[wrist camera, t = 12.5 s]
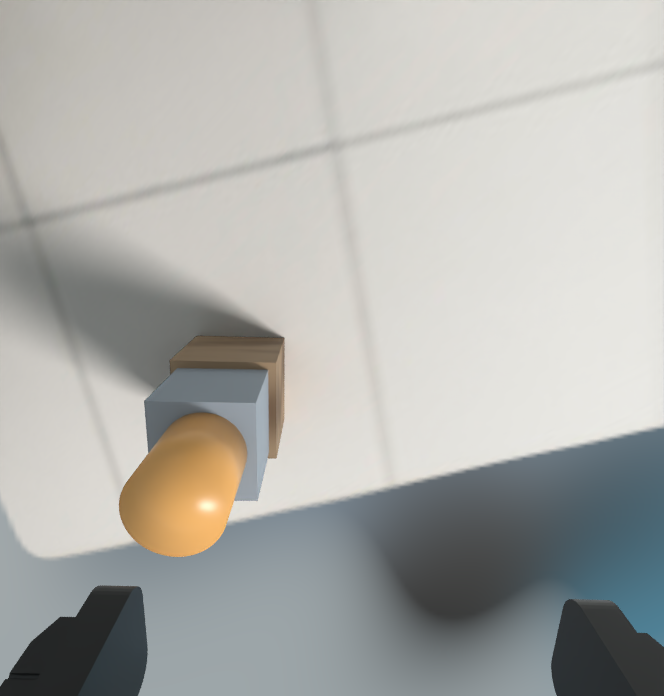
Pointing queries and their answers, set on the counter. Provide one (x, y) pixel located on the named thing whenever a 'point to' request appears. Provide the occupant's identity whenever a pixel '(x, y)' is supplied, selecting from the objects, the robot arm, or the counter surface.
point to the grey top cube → (218, 412)
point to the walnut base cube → (242, 356)
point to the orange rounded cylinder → (185, 486)
